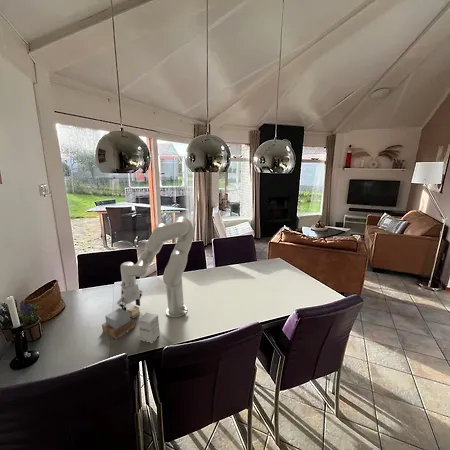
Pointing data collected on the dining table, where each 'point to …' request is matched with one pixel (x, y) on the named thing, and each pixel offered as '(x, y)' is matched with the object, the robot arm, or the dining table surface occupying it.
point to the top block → (118, 318)
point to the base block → (120, 331)
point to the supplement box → (149, 327)
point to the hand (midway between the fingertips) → (131, 308)
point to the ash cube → (133, 311)
